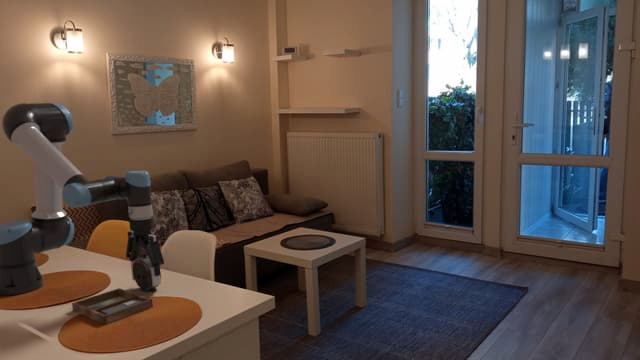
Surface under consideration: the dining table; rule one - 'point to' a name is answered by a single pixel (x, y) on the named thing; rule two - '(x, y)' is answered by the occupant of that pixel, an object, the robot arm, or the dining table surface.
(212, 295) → the dining table surface
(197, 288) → the dining table surface
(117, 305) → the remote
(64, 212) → the robot arm
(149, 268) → the alarm clock
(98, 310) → the organizer tray
